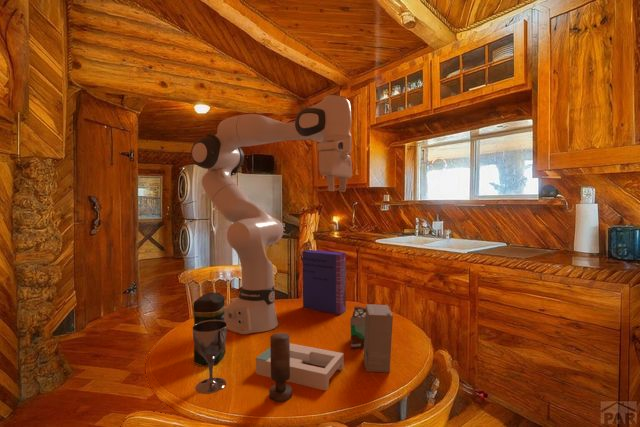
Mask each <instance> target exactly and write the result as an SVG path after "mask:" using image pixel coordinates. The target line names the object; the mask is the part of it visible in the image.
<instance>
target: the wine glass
mask: <svg viewBox="0 0 640 427" xmlns="http://www.w3.org/2000/svg"><path fill="white" fill-rule="evenodd" d="M227 332H228V330H227V324H226V322H225V321H222V320H207V321H202V322H199V323H197V324H195V325H194V324H193V326H192V341H193V346H194V345H195V348H196V351H197V352H198V353H199V354H200V355H201V356H202V357H203V358H204V359H205V360H206V361H207V363H208V365H207V367H208V376H209V378H205V379H202V380H201V381H199V382H198V383H197V384H196V385H195V386H196V387H195V390H196V392H197V393H200V394H203V395H204V394H206V393H207V394H213V393H217V392H219V390H220V391H222V390H223V389H224V388H225V387H226V385H227V381H226V379H224V378H222V377H214V376H213V374H214V373H213V372H214V371H213V370H214V361H215V359H216V357H217V356H218V355H219V353H220V352H221V351H222V349H223V348H224V345H225V346H226V340H227V336H228V335H227V334H228V333H227Z"/></svg>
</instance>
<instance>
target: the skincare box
mask: <svg viewBox="0 0 640 427" xmlns="http://www.w3.org/2000/svg"><path fill="white" fill-rule="evenodd" d="M365 308H366V319H365V337H364V348H363V354H362V355H363V356H362V357H363V363H364V368H365V371H366V372H367V373H368V372H369V373H371V372H372V373H373V372H374V373H390V372H391V358H392V356H391V355H392V341H393V340H392V338H393V337H392V336H393V322H394V321H393V320H394V316H393V314H392V310H391V308H390V306H389V305H388V304H372V303H368V304H367V303H366V305H365Z"/></svg>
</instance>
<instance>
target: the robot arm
mask: <svg viewBox="0 0 640 427" xmlns="http://www.w3.org/2000/svg"><path fill="white" fill-rule="evenodd" d="M351 108H352V107H351V102H350V100H348V98H346V97H345V96H343V95H339V94H334V93H333V94H328V95H326V96H324V97H323V99H322V100H321V101H319V102H317V103H316V104H313V105H311V106H309V107H305V108H303V109H301V110H299V112H298V113H297V115H296V117H295V121H294V122H284V121H280V120H277V119H273V118H271V117H268V116H265V115H261V114H255V113H248V114H241V115H240V114H239V115H235V116H231V117H228V118H225V119H223V120H222V121H220V122H219V124H218V125H217V131H216V132H217V133H216V134H214V133H209V134H208V133H207V135H206V136H204V137H202V138H199V139H198V140H196V141H195V142H194V143H193V145H192V147H191V150H190V156H191V160H192V162H193V164H194V165H197V167H199V168H202V169H205V170H206V169H207V171H206V173H204V175H203V176H202V179H201V185H202V187H203V190H204V192H205V193H206V195H207V197H208V198H209V200H210V201H211V203H213V205H214V206H215V208H216V209H217V210H218V211H219V213H221V215H222V217H224V218H225V219H226V220H227V221H229V222H231V224H230V225H229V226H228V228H227V232H226V240H227V243H228V245H229V246H230V247H231V248H232V249H233V250H234V251H235V252H236V254H237V257H238V259H239V263H240V269H241V286H240V287H239V288H237V289H235V293H238V296H237V297H236V298H234V299H233V300H231V302H230V303H228V304H227V305H225V311H224V321H225V322H226V324H227V331H230V332H233V333H237V334H239V335H240V334H241V335H249V334H255V333H262V332H268V331H271V330H273V329H276V327H278V325H279V321H278V317H277V313H276V307H275V299H276V298H275V297H276V296H275V295H276V293H275V292H276V291H275V285H274V264H273V263H272V261H271V260H270V259H269V257H268V256H267V252H266V247H270V246H272V245H274V244H276V243H278V242H279V241H280V240H281V239H282V237H283V234H284V226H283V224H282V222H281V221H280V220H279V219H277V218H275V217H273V216H271V215H269V214H268V213H267V212H266V211H264V209H262V208H260V206H258V205H257V204H256V203H254V202H253V200H251V199H250V198H249V197H248V196H247V195H246V193H245V192H244V191H243V190H242V189H241V188H240V187H239V186H238V184H237V183H236V182H235V181H234V179H233V176H235V175H236V174H238V170H240V169H241V167H242V166H243V164H244V161H245V153H244V151H243V149H242V148H243V147H252V146H261V145H266V144H273V143H279V142H288V141H314V142H316V143H318V144H317V151H318V167H319V168H318V170H319V173H320V175H321V176H324V177H326V178H325V179H326V184H327V186H328V187H327V190H328V192H335V191H336V185H335V178H338V179H339V186H338V191H339V192H340V193H344V192H346V188H347V187H346V186H347V183H348V179H351V178H352V177H353V162H352V157H351V156H350V155H349V154H351V153H352V133H351V127H352V109H351ZM241 147H242V148H241Z"/></svg>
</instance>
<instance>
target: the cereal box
mask: <svg viewBox="0 0 640 427" xmlns="http://www.w3.org/2000/svg"><path fill="white" fill-rule="evenodd" d="M301 252H302V309H306V310H311V311H317V312H323V313H327V314H332V315H339V316H341V315H343V314H345V313H346V311H347V309H346V308H347V306H346V304H347V303H346V302H347V301H346V300H347V299H346V298H347V297H346V296H347V294H346V291H347V289H346V288H347V286H346V284H347V283H346V279H347V278H346V277H347V276H346V275H347V274H346V273H347V272H346V269H347V268H346V267H347V266H346V259H347V258H346V252H340V251H338V252H337V251H327V250H326V251H325V250H316V249H305V250H303V251H301Z"/></svg>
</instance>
